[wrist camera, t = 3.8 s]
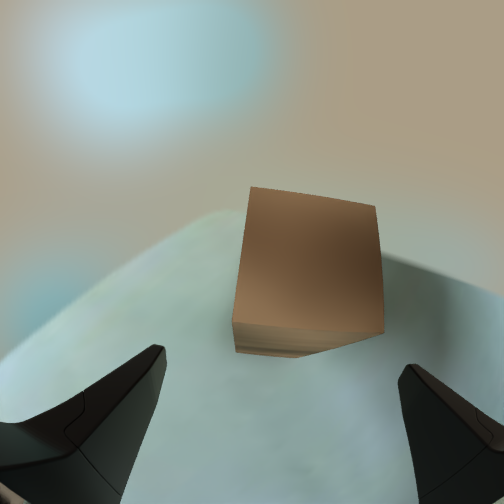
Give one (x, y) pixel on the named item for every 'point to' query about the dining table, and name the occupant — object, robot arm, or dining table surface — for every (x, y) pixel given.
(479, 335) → the dining table surface
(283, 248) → the walnut block
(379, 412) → the dining table surface
